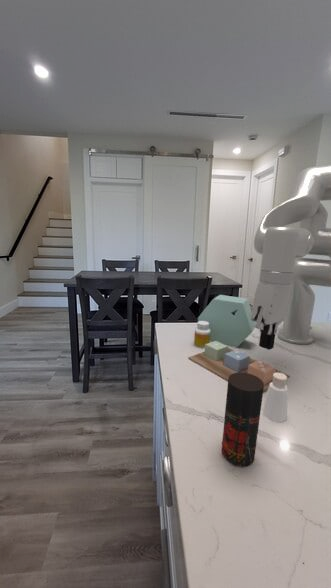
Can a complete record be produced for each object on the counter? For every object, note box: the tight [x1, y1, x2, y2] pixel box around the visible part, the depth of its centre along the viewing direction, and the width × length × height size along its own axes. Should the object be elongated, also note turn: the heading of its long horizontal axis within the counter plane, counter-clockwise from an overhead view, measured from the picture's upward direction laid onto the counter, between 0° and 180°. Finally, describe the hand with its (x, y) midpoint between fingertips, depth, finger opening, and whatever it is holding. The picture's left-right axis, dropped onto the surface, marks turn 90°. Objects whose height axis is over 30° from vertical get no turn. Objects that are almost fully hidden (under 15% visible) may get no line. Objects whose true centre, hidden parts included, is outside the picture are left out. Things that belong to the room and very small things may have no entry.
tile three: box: [247, 360, 276, 386], centre depth 72 cm, size 5×5×4 cm
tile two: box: [224, 349, 251, 373], centre depth 78 cm, size 5×5×4 cm
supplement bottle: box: [193, 320, 211, 349], centre depth 92 cm, size 5×5×10 cm
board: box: [187, 347, 290, 394], centre depth 78 cm, size 16×24×2 cm, turn 38°
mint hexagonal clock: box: [197, 294, 256, 349], centre depth 96 cm, size 17×8×21 cm
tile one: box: [203, 341, 229, 361], centre depth 84 cm, size 5×5×4 cm
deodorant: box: [221, 373, 264, 468], centre depth 48 cm, size 6×6×15 cm
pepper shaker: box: [262, 373, 289, 423], centre depth 58 cm, size 5×5×11 cm
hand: (266, 347), depth 70 cm, fingers closed
